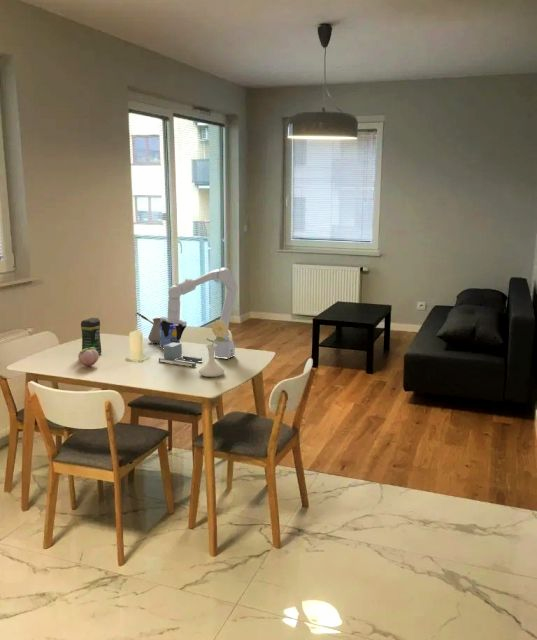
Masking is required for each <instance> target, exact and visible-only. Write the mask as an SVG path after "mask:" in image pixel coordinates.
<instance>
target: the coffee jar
mask: <svg viewBox="0 0 537 640" xmlns="http://www.w3.org/2000/svg"><path fill="white" fill-rule="evenodd" d="M80 329H81V350H83V349H86V348H90V347H95V348H97V349H95V350H96V351H97V352H98V354H99V355H101V354H102V346H101V334H100V333H101V320H100V319H99V318H98V317H90V318H87V319H83V320H82V321H81V322H80Z"/></svg>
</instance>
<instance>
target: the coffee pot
mask: <svg viewBox="0 0 537 640" xmlns="http://www.w3.org/2000/svg"><path fill="white" fill-rule="evenodd" d="M134 316H135V317H136V316H138V317H141V318H142V319H144V320H145V321H147V322H149V323H150V324H152V327H151V329H150V331H149V335H148V340H149V342H150V343H152V342H153V343H160V326H159V325H160V323H162V321H160V317H155V318H152V320H150V319H149V318H148V317H146V316H144V315H142V313H140V312H136V313H135V314H134ZM153 343H152V344H153Z"/></svg>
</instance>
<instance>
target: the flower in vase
mask: <svg viewBox="0 0 537 640" xmlns="http://www.w3.org/2000/svg"><path fill="white" fill-rule="evenodd" d="M211 329H212V330H211V332H212V333H213V334H214V336H215V338H214V340H212V339H209V338H206V340H207V341H208V342H210V343H207V344H205V347H206V348H207V351H208V361H207V362H206V364H204V365H203V366H201V367H200V368H199V370H198V373H199V375H201V376H202V377H203V376H204V377H206V378H207V377H209V378H210V377H211V378H212V377H213V378H215V377H219V376H222V375H224V374H225V369H224V368H223V366H221V365H220V364H219V363H217V361H215V358H214V355H215V348H216V346H217V345H216V344H215V340H216V339H217V340H218V341H219V342H222V341H224V340H225V339H224V338H223V337H224V336H225V335H226V334H227V331H228V332H229V328H228V327H227V326H226V324H225V323H224V322H223V321H221V320H220V319H217V320H215V322H213V323H212V325H211ZM227 329H228V330H227ZM217 336H218V337H217Z"/></svg>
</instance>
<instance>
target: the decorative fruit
mask: <svg viewBox="0 0 537 640" xmlns="http://www.w3.org/2000/svg"><path fill="white" fill-rule="evenodd" d="M95 349H97V348H95V347H90V348H86V349H83V350H82V349H81V350H80V351H79V352H78V354H77V355H78V356H77V357H78V361H79V362H80V364H81V365H83V366H85V367H87V368H91V367H92V366H93V365H95V364H96V363H97V362H98V360H99V357H100V354H98V352H97V351H96V350H95Z"/></svg>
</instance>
